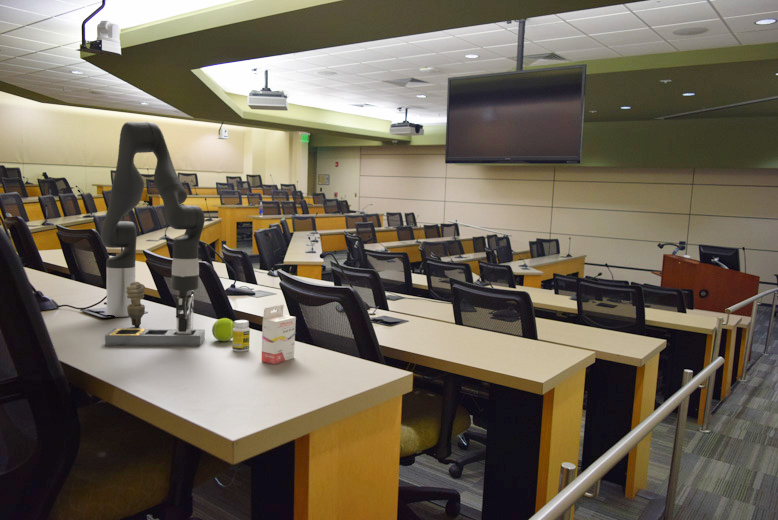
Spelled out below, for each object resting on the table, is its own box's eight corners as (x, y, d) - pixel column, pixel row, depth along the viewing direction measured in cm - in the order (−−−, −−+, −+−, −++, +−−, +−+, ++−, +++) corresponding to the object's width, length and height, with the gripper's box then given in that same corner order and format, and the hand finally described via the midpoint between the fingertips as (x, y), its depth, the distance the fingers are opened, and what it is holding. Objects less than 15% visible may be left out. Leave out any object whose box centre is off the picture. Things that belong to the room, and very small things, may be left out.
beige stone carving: (139, 329, 179) (139, 283, 177) (123, 328, 179) (122, 282, 177) (147, 325, 185) (147, 280, 183) (131, 324, 185) (131, 280, 183)
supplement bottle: (244, 352, 158) (245, 323, 158) (229, 351, 159) (229, 322, 158) (252, 348, 163) (252, 320, 162) (237, 347, 164) (237, 318, 163)
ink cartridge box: (275, 365, 148) (276, 310, 147) (260, 361, 151) (262, 308, 149) (295, 357, 156) (296, 305, 154) (281, 354, 158) (282, 303, 157)
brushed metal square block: (179, 340, 168) (179, 311, 167) (193, 340, 169) (193, 311, 168) (176, 344, 164) (176, 314, 163) (190, 344, 165) (190, 314, 164)
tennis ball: (210, 344, 166) (211, 320, 165) (213, 338, 173) (213, 316, 172) (234, 343, 167) (235, 321, 167) (236, 338, 174) (237, 316, 173)
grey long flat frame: (114, 338, 167) (114, 328, 166) (204, 339, 171) (204, 329, 171) (105, 345, 159) (104, 334, 159) (200, 345, 163) (200, 335, 163)
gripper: (177, 269, 171) (176, 323, 172) (166, 276, 156) (166, 334, 158) (202, 270, 172) (202, 323, 173) (194, 276, 158) (193, 334, 159)
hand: (185, 328), depth 166 cm, fingers open, 6 cm apart
